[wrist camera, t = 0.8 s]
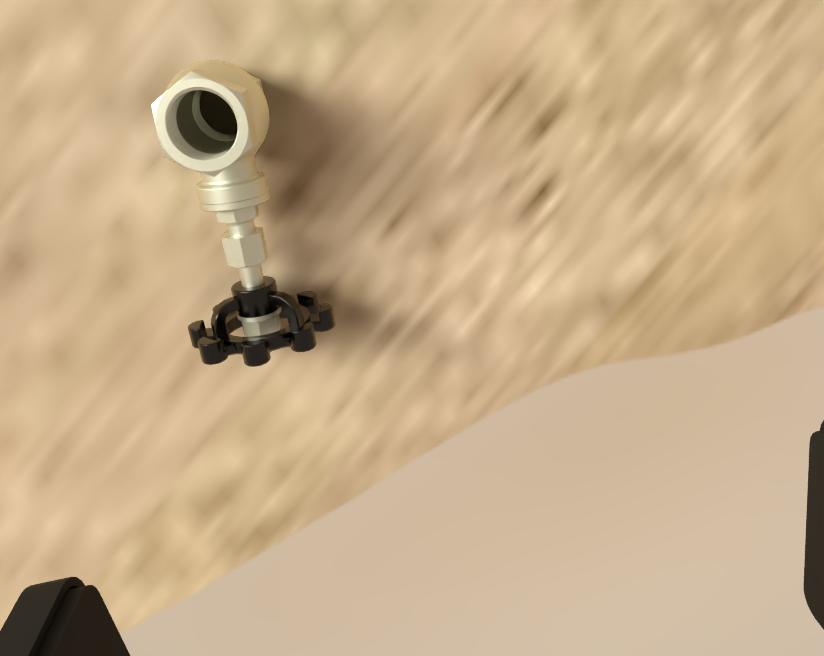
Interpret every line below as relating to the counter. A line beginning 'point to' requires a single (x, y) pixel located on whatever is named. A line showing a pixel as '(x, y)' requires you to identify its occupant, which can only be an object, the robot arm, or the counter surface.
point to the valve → (235, 214)
